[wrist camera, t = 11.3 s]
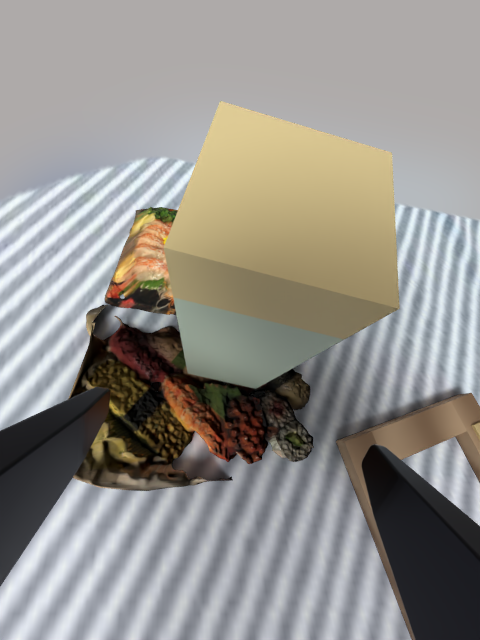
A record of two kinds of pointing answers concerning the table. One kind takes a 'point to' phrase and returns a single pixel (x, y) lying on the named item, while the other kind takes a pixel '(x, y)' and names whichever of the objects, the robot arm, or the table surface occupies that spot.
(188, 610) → the table surface
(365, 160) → the green yellow rectangular block
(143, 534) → the table surface
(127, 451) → the food
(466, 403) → the slot plate
